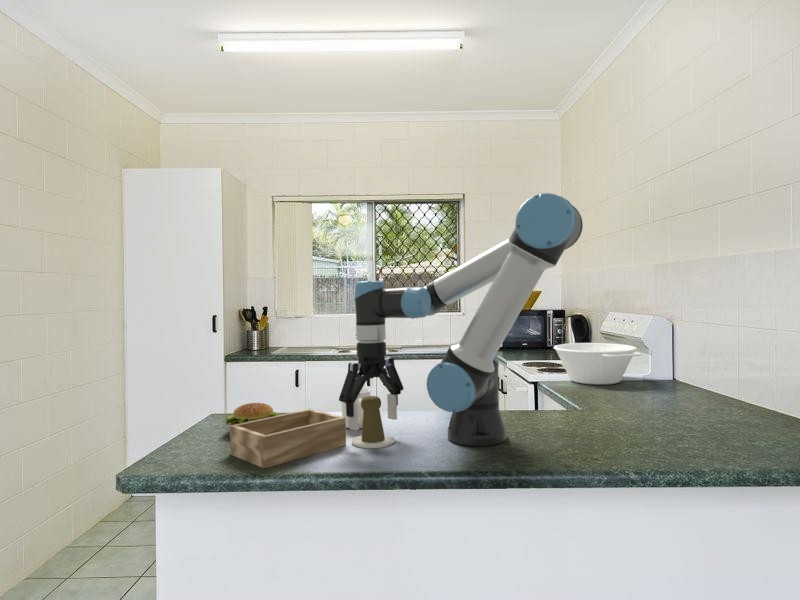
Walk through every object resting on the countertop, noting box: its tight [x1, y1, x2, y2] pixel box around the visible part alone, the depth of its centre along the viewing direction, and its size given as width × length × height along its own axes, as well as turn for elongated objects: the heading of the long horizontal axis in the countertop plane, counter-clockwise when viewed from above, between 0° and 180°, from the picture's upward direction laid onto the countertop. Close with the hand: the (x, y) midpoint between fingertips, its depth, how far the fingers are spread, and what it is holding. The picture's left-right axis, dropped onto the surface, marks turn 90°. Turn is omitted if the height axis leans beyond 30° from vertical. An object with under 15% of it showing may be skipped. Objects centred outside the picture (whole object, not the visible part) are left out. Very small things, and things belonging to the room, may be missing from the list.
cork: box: [361, 395, 385, 442], centre depth 137 cm, size 6×6×11 cm
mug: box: [341, 387, 371, 428], centre depth 152 cm, size 12×8×10 cm
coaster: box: [351, 434, 396, 450], centre depth 137 cm, size 11×11×1 cm
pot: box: [553, 342, 642, 386], centre depth 217 cm, size 40×32×14 cm
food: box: [225, 402, 279, 426], centre depth 150 cm, size 14×14×8 cm
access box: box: [229, 408, 347, 469], centre depth 132 cm, size 15×23×7 cm, turn 135°
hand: (373, 424), depth 137 cm, fingers open, 13 cm apart
